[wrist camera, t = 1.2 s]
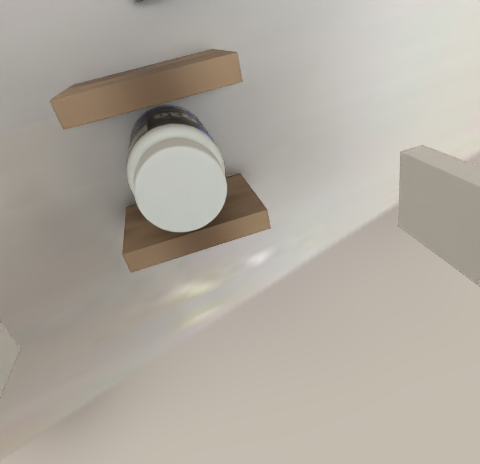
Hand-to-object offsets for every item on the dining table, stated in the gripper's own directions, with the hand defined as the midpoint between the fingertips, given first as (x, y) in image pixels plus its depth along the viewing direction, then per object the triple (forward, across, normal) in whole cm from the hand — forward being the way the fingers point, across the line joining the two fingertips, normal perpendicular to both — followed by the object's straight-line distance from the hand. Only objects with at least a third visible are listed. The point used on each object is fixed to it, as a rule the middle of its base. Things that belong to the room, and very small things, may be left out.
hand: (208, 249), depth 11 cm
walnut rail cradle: (+13, 0, 0) cm, 13 cm away
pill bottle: (+14, 0, 0) cm, 14 cm away
